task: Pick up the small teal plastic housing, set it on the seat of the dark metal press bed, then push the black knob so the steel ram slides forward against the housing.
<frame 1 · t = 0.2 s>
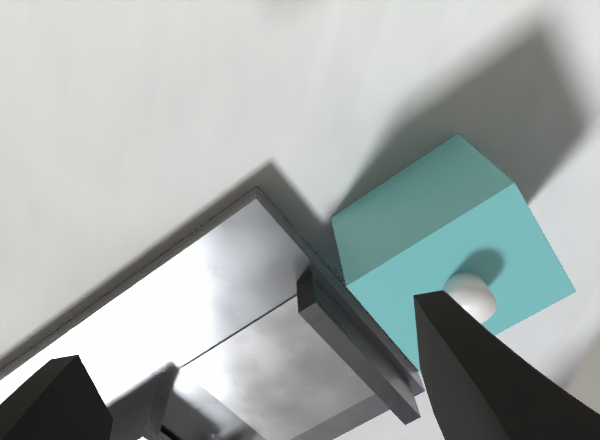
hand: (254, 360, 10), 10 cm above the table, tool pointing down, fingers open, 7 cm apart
press bed: (221, 367, 23), on the table
housing: (421, 219, 20), on the table
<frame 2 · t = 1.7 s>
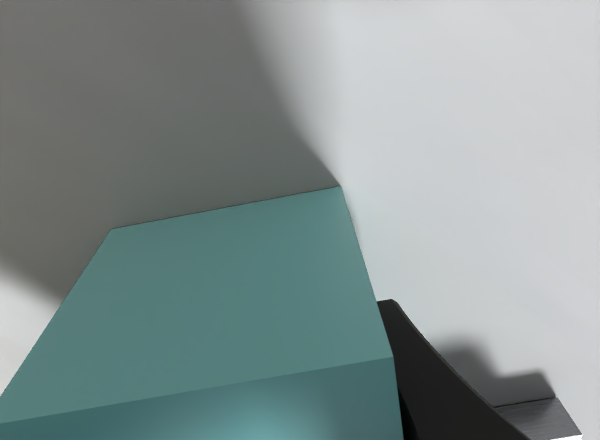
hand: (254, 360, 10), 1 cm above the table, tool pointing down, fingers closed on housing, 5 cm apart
housing: (256, 317, 11), on the table, touching gripper
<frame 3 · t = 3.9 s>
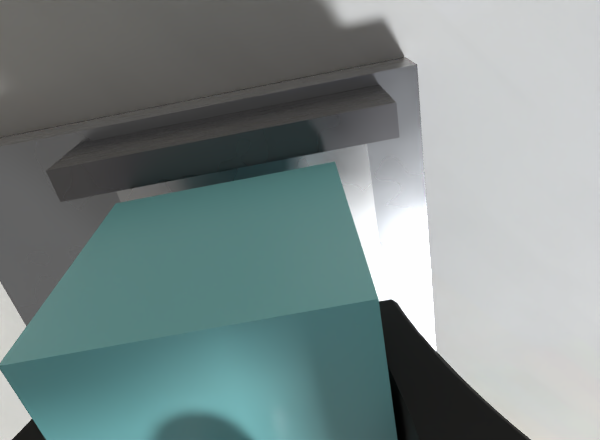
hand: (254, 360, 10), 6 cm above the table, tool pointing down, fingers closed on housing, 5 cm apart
press bed: (240, 311, 17), on the table
housing: (254, 291, 12), point 4 cm above the table, touching gripper
when the fingers open (4 cm above the table, at t = 4.8 s): housing stays where it is, resting on press bed.
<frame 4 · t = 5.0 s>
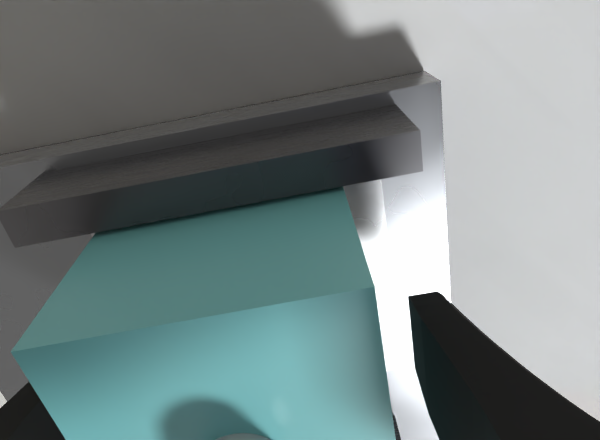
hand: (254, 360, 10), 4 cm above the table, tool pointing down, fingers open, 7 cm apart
press bed: (234, 353, 15), on the table
housing: (255, 284, 12), point 1 cm above the table, touching press bed
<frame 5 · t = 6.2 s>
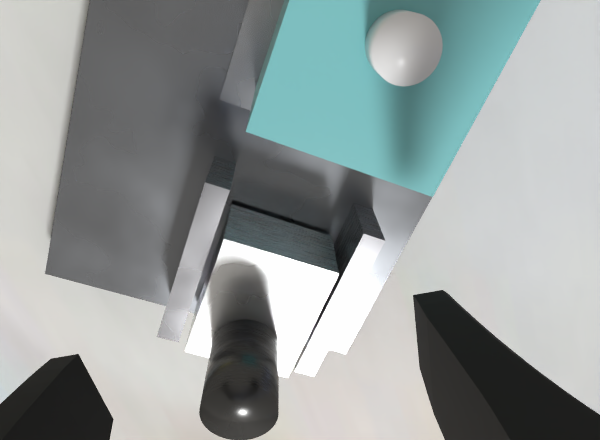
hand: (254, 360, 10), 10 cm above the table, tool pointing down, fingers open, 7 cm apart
press bed: (280, 97, 17), on the table
housing: (361, 24, 15), point 1 cm above the table, touching press bed
ram: (257, 320, 16), point 4 cm above the table, slide at 0.0 cm
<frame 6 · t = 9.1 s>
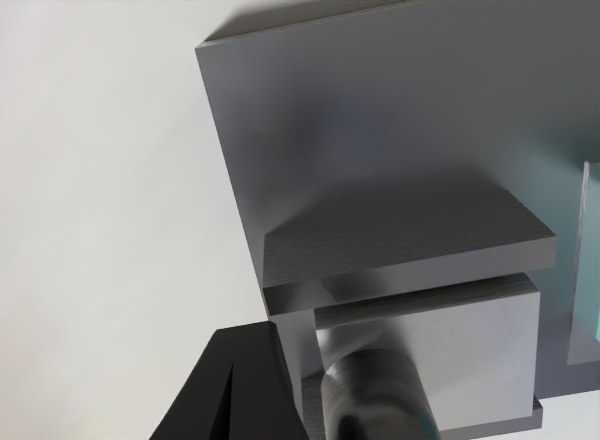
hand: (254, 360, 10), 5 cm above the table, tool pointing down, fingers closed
press bed: (573, 207, 14), on the table
ram: (429, 383, 11), point 4 cm above the table, slide at 1.0 cm, touching gripper
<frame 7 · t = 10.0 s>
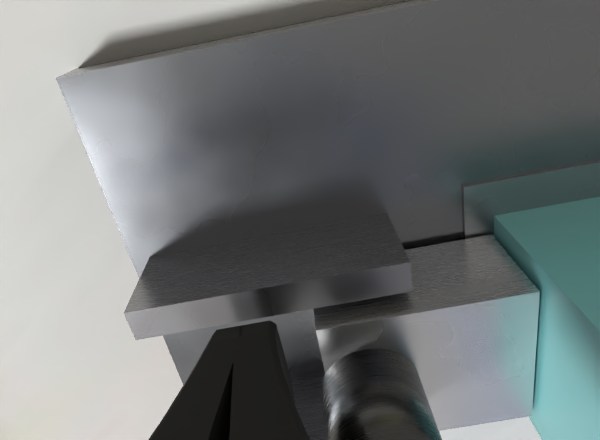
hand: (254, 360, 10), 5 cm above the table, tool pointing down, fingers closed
press bed: (466, 227, 14), on the table
housing: (598, 272, 13), point 1 cm above the table, touching press bed
ram: (429, 383, 11), point 4 cm above the table, slide at 4.2 cm, touching gripper
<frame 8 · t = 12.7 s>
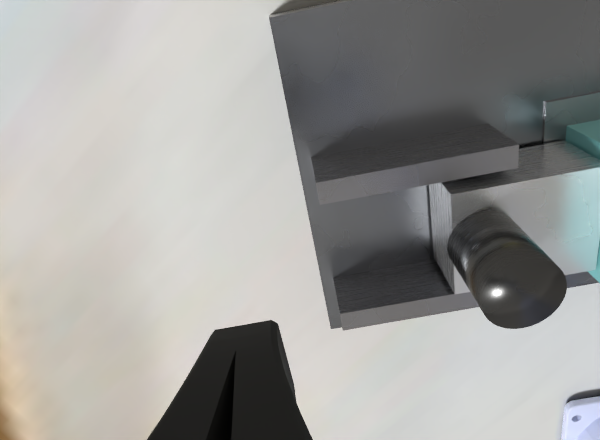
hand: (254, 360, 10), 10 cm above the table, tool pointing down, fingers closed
press bed: (539, 142, 19), on the table
ram: (526, 237, 16), point 4 cm above the table, slide at 4.2 cm
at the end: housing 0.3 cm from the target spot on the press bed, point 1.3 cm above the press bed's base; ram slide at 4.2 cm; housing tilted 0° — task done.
